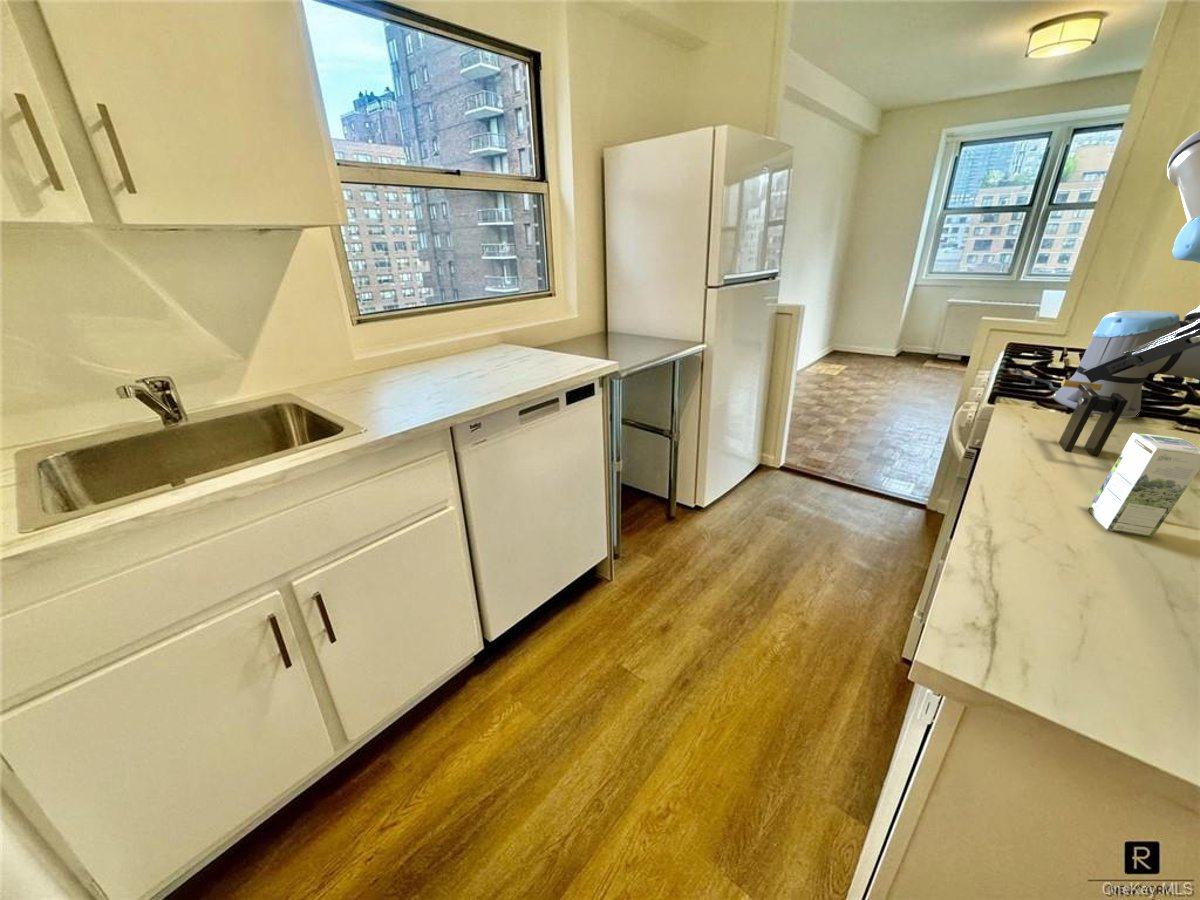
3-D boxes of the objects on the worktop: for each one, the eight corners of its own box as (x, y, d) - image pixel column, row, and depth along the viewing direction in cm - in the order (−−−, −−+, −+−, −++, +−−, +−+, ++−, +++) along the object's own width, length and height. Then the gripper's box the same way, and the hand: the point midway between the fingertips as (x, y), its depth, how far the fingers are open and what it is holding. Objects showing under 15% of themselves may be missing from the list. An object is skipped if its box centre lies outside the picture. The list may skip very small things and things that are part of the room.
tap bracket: (1040, 440, 102) (1067, 383, 96) (1095, 450, 98) (1127, 390, 92) (1052, 460, 94) (1083, 399, 88) (1113, 471, 90) (1149, 408, 84)
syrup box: (1130, 517, 77) (1181, 435, 70) (1154, 539, 72) (1211, 453, 65) (1086, 510, 79) (1131, 430, 72) (1106, 531, 74) (1157, 447, 67)
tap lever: (1059, 387, 103) (1064, 376, 102) (1096, 392, 100) (1101, 381, 99) (1080, 409, 92) (1086, 397, 91) (1122, 415, 89) (1128, 403, 88)
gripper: (1286, 330, 76) (1094, 399, 95) (1278, 318, 84) (1102, 385, 103) (1255, 290, 77) (1071, 367, 96) (1250, 283, 85) (1081, 355, 104)
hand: (1087, 376), depth 99 cm, fingers closed
